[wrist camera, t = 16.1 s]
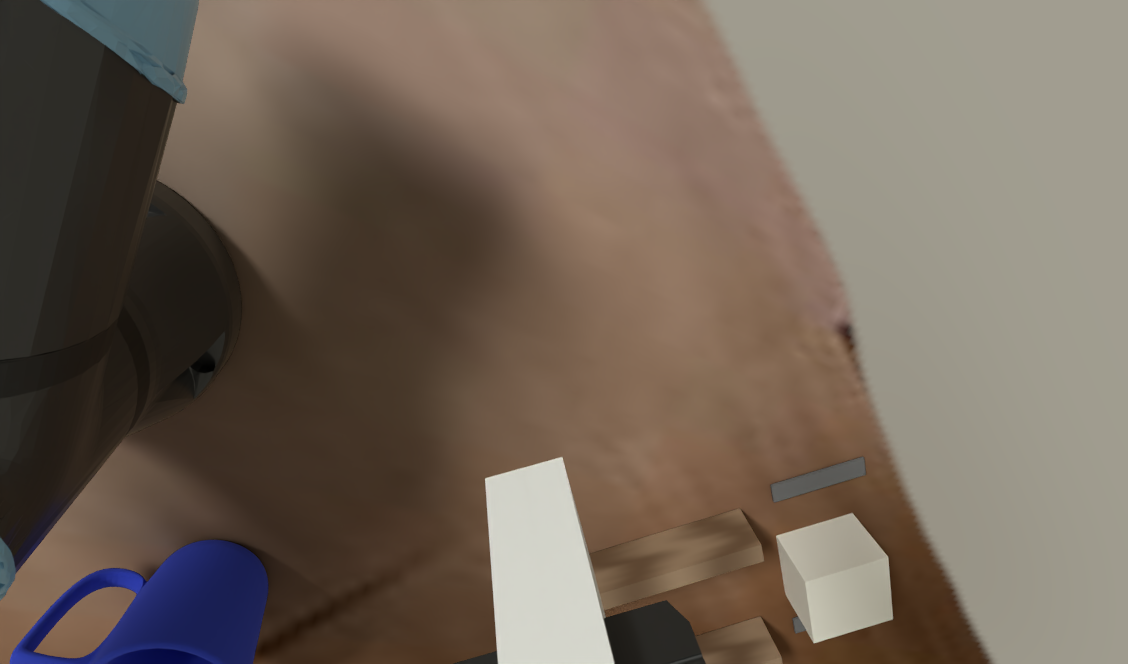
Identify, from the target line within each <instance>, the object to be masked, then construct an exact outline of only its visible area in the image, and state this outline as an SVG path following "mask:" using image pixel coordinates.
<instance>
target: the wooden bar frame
mask: <svg viewBox="0 0 1128 664" xmlns="http://www.w3.org/2000/svg"><path fill="white" fill-rule="evenodd" d="M589 555H590V559H591V563H592V566H593V570H594V574H595V578H596V582H597V586H598V590H599V594H600V597H601V601H602V605H603V609H604V610H607V609H610V608H613V607H616V606H620V605H623V604H626V603H629V602H633V601H636V600H639V599H643V598H646V597H649V596H652V595H656V594H659V593H662V592H665V591H669V590H672V589H675V588H679V587H682V586H685V585H688V584H692V583H695V582H698V581H701V580H705V579H708V578H711V577H714V576H718V575H721V574H724V573H728V572H731V571H734V570H737V569H741V568H744V567H747V566H750V565H754V564H757V563H760V562H763V561H764V557H763V552H762V546H761V543H760V542H759V540H758V538H757V537H756V535H755V533H754V532H753V530H752V528H751V526H750V525H749V523H748V521H747V520H746V518H745V516H744V515H743V513H742V511H741V509H740V508H739V509H736V510H732V511H729V512H726V513H722V514H719V515H716V516H713V517H709V518H706V519H703V520H699V521H696V522H693V523H690V524H686V525H683V526H680V527H676V528H673V529H670V530H667V531H663V532H660V533H657V534H653V535H650V536H647V537H644V538H640V539H637V540H634V541H630V542H627V543H624V544H620V545H617V546H614V547H611V548H607V549H604V550H601V551H597V552H594V553H591V554H589ZM695 637H696V640H697V642H698V645H699V648H700V650H701V653H702V656H703V659H704V660H705V663H706V664H783V663H782V657H781V655H780V653H779V651H778V649H777V647H776V645H775V644H774V642H773V640H772V638H771V636H770V634H769V632H768V630H767V628H766V626H765V624H764V622H763V620H762V618H761V616H760V617H757V618H753V619H750V620H747V621H744V622H740V623H737V624H734V625H731V626H727V627H724V628H721V629H718V630H714V631H711V632H708V633H705V634H701V635H698V636H695Z"/></svg>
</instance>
